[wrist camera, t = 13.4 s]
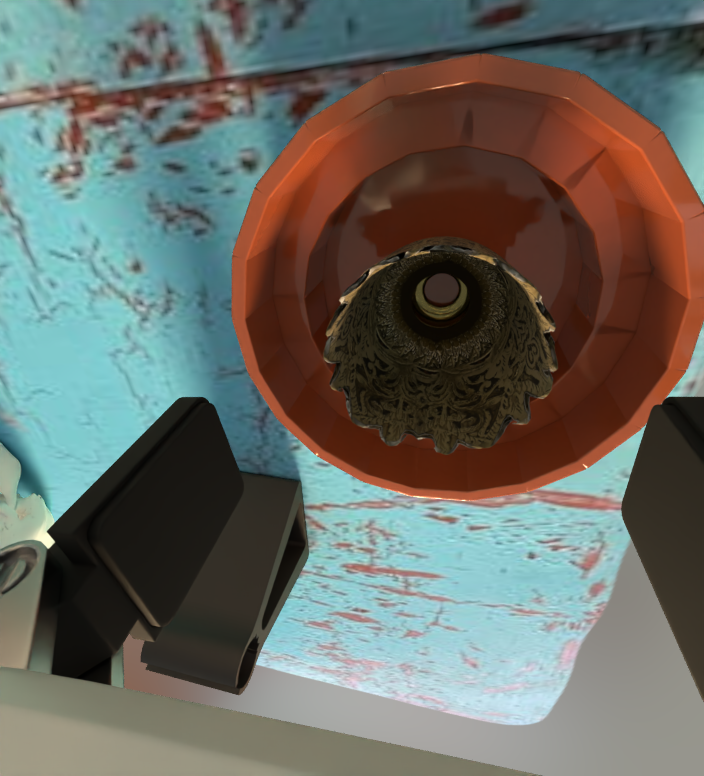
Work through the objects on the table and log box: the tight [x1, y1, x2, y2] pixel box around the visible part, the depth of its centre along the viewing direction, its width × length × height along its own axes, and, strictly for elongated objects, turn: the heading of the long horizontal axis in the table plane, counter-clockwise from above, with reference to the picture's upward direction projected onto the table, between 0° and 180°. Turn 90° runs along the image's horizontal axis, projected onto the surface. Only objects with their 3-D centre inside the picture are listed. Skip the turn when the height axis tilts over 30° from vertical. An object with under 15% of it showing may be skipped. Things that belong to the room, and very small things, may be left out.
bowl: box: [232, 53, 704, 501], centre depth 17 cm, size 16×16×6 cm
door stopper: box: [141, 472, 309, 695], centre depth 28 cm, size 9×6×12 cm, turn 0°
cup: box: [323, 236, 558, 455], centre depth 16 cm, size 8×7×8 cm
